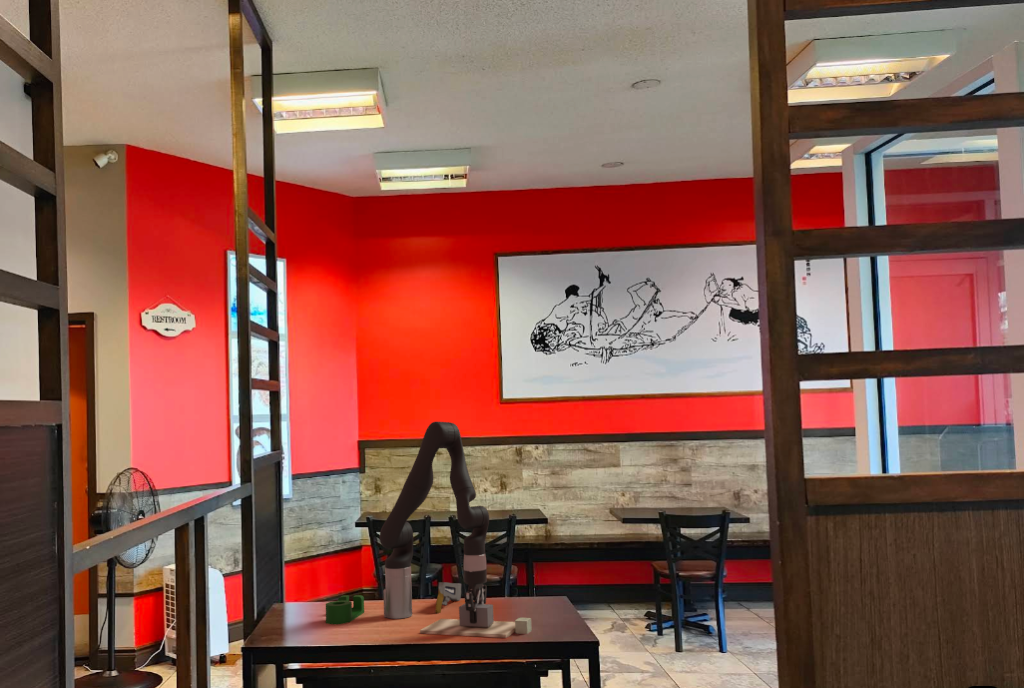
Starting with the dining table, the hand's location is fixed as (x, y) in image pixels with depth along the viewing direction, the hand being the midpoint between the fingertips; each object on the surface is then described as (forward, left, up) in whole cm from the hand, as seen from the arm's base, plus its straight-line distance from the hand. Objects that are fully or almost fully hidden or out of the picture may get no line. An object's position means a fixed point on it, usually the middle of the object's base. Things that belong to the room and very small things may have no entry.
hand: (476, 620), depth 259 cm
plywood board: (-2, 0, -3) cm, 3 cm away
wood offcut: (+16, 0, -3) cm, 17 cm away
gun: (-25, +32, -3) cm, 41 cm away
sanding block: (0, 0, -1) cm, 1 cm away
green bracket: (-55, +6, -3) cm, 55 cm away
